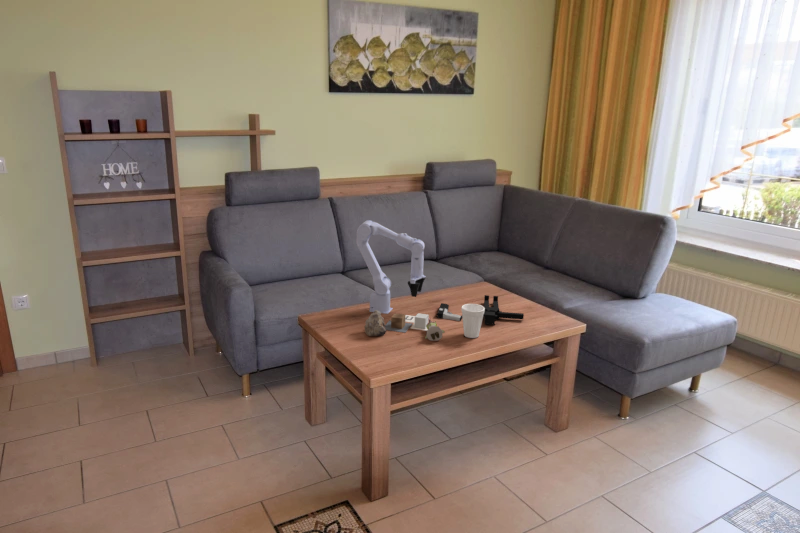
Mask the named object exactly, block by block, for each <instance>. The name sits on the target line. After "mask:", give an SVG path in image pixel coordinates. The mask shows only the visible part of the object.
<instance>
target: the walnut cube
mask: <svg viewBox="0 0 800 533" xmlns="http://www.w3.org/2000/svg"><path fill="white" fill-rule="evenodd" d="M405 315H406V314H402V313H396V312H395V313H393V315H391V328H397V329H402V328H403V327H404V326H405V323H406V322H405Z"/></svg>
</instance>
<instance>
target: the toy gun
mask: <svg viewBox="0 0 800 533" xmlns="http://www.w3.org/2000/svg"><path fill="white" fill-rule="evenodd" d="M449 308H450V306H449V304H448V303H444V302H442V303H440V305H439V309H438V311H437V313H436V316H435V318H437V319H445V320H453V321H457V322H461V321H462V320H463V317H462V315H459V314H456V313H452V312H451V311H448V310H449Z"/></svg>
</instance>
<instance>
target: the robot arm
mask: <svg viewBox="0 0 800 533" xmlns="http://www.w3.org/2000/svg"><path fill="white" fill-rule="evenodd" d="M355 233H356V246H357V249H358V250H359V252H360V254H361V256H362V258H363V260H364V262H365V264H366V266H367V268H368V270H369V272H370V274H371V277H372V284H373V286H374V291H372V292H371V293H370V296H369V312H371V313H374V311H375V310H378V311H380V313H381V314H384V315H388V314H390V312H391V311H393V307H391V290H390V289H391V286H392V280H391V279H390V278H389V277H388V276H387V275H386V273H384V272H383V270H382V268H381V266H380V264H379V262H378V260H377V258H376V256H375V253H374V252H373V250H372V248H371V246H370V244H369V240H370V239H371V236H377V235H380V236H383V237H385V238H388V239H390V240H393V241H395V242H396V245H398V246H400V247H402V248H404V249H407V250H408V251H410V252H411V259H410V275H409V276H410V280H409V281H407V286H409V290H410V296H411V297H414V298H417V296H418V293H421V292H422V289H423V285H424V282H425V280H426V275H424V263H425V262H424V261H425V260H424V258H425V256H424V252H425V251H424V250H425V248H426V247H425V246H426V244H425V242H424V241H423V240H422V239H421V238H420V239H419V238H418V239H417V238H416V237H411V236H410V235H408V233H406V232H405V233H403V232H401V233H397V232H395V231H394V230H392V229H389V228H387V227H386V226H384V225H382V224H380V223H378V222H377V221H373V220H371V219H367V220H365V221H363V223H361V224H360V225H359V226H358V227H357V230H356V232H355Z"/></svg>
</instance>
